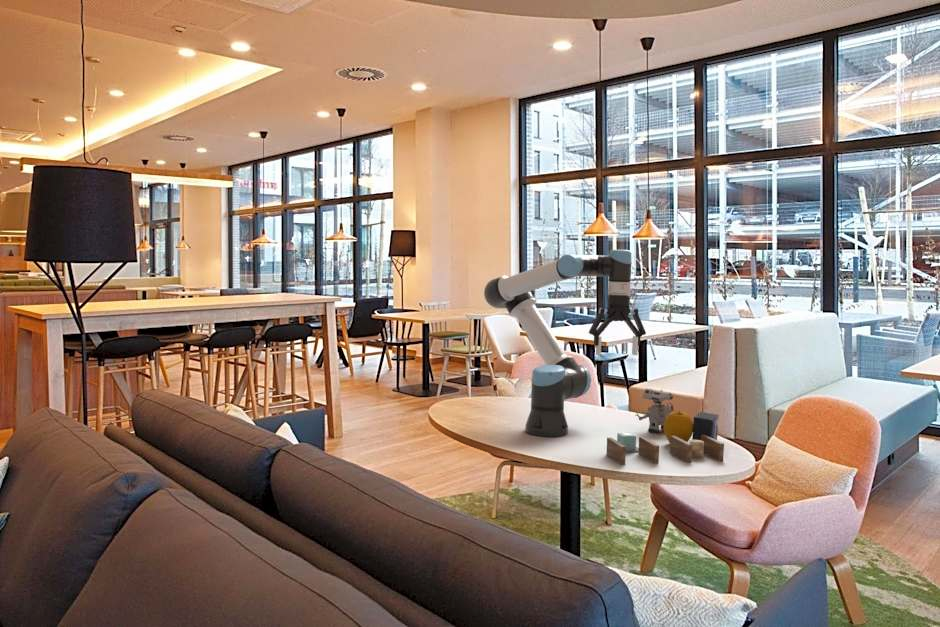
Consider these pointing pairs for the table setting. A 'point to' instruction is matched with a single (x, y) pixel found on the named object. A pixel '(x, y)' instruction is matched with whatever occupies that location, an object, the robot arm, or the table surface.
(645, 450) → the divider rack
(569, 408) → the table surface
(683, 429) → the apple
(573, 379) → the robot arm
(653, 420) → the figurine
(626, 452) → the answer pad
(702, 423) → the small box
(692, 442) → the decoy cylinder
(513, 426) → the table surface
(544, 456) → the table surface
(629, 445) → the letter cube
